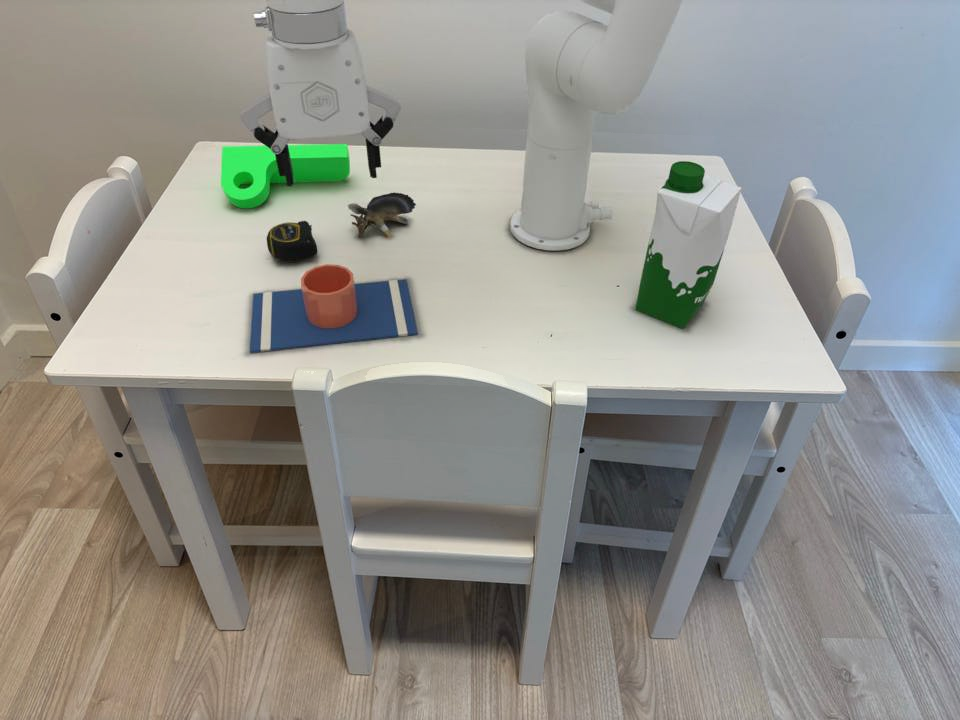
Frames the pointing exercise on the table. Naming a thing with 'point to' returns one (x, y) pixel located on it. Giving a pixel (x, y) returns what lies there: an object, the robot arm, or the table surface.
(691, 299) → the milk carton
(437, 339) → the table surface
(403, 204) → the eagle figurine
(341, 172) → the bracket
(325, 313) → the orange plastic cup
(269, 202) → the table surface
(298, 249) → the tape measure
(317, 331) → the towel
